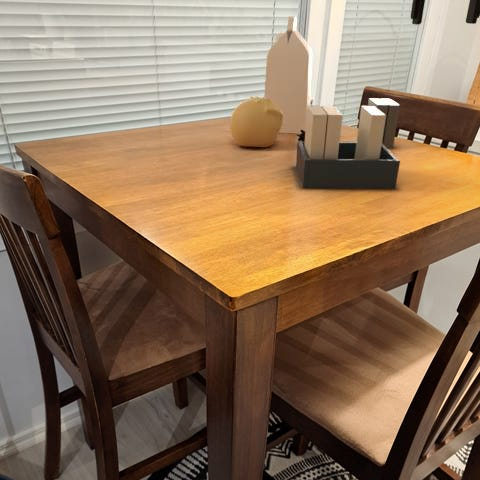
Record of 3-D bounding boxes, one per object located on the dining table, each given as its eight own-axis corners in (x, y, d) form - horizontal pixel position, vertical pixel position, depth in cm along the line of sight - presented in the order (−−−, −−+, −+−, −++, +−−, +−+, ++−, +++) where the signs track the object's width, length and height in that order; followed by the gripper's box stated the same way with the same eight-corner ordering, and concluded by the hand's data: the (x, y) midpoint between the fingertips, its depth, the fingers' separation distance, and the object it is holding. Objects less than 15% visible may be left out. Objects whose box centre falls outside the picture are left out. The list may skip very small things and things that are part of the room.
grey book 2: (383, 142, 122) (390, 98, 117) (392, 151, 115) (400, 105, 109) (373, 142, 122) (379, 98, 117) (382, 151, 115) (389, 105, 109)
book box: (377, 171, 101) (381, 142, 98) (394, 193, 89) (400, 160, 86) (295, 171, 101) (297, 141, 98) (302, 192, 89) (304, 159, 86)
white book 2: (327, 170, 98) (334, 105, 92) (334, 184, 91) (342, 114, 84) (315, 170, 98) (321, 105, 92) (321, 184, 91) (328, 114, 84)
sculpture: (288, 149, 116) (291, 99, 110) (240, 153, 112) (240, 102, 106) (268, 138, 125) (270, 91, 119) (223, 142, 121) (223, 94, 115)
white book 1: (314, 170, 98) (320, 105, 92) (320, 184, 91) (327, 114, 84) (302, 170, 98) (307, 105, 92) (307, 184, 91) (313, 114, 84)
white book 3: (364, 170, 98) (374, 106, 92) (375, 184, 91) (386, 115, 84) (352, 170, 98) (361, 105, 92) (362, 184, 91) (372, 115, 84)
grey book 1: (372, 142, 122) (379, 98, 117) (381, 151, 115) (388, 105, 109) (362, 142, 122) (368, 98, 117) (370, 151, 115) (377, 104, 109)
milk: (305, 134, 129) (314, 17, 115) (262, 131, 131) (265, 16, 117) (309, 124, 139) (318, 16, 125) (269, 122, 141) (273, 15, 127)
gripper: (509, -99, 82) (483, 22, 91) (405, -97, 82) (389, 23, 91) (532, -107, 76) (501, 23, 85) (419, -106, 76) (400, 25, 85)
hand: (443, 23), depth 88 cm, fingers open, 9 cm apart
